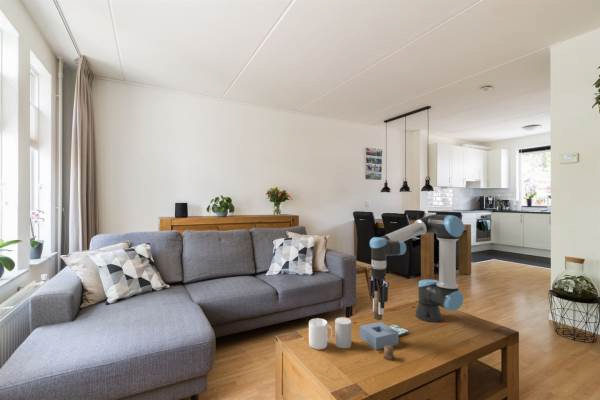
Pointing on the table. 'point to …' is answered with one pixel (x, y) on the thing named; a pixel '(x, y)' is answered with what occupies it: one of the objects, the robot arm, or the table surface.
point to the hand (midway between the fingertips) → (378, 312)
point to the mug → (319, 333)
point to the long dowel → (376, 306)
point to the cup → (343, 332)
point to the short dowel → (388, 352)
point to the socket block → (379, 335)
